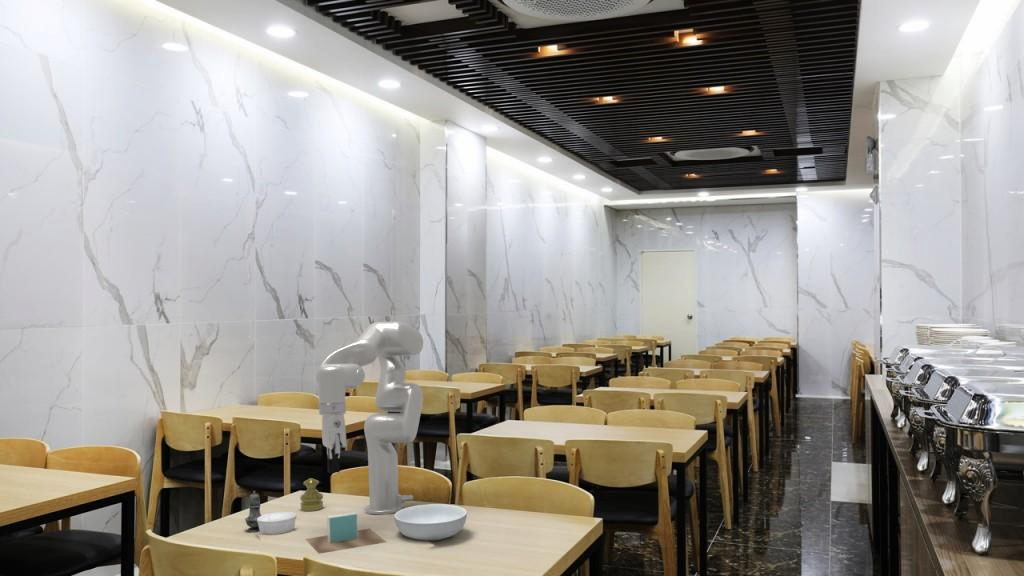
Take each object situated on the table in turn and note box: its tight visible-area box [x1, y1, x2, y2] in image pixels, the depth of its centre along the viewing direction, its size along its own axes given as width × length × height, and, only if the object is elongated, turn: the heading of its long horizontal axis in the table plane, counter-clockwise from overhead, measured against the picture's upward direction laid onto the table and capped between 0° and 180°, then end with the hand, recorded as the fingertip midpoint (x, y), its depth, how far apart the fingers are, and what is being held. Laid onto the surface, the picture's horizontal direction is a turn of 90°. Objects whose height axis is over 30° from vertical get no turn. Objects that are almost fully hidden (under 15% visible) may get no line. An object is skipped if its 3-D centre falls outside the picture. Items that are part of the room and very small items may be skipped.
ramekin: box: [257, 511, 297, 535], centre depth 242 cm, size 11×11×5 cm
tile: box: [326, 511, 358, 543], centre depth 229 cm, size 8×2×7 cm, turn 117°
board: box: [305, 528, 388, 555], centre depth 229 cm, size 19×16×1 cm
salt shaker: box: [244, 490, 263, 533], centre depth 247 cm, size 6×6×12 cm
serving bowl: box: [393, 503, 468, 542], centre depth 234 cm, size 21×21×7 cm
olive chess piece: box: [299, 478, 324, 512], centre depth 271 cm, size 7×7×10 cm
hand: (333, 472), depth 235 cm, fingers closed
